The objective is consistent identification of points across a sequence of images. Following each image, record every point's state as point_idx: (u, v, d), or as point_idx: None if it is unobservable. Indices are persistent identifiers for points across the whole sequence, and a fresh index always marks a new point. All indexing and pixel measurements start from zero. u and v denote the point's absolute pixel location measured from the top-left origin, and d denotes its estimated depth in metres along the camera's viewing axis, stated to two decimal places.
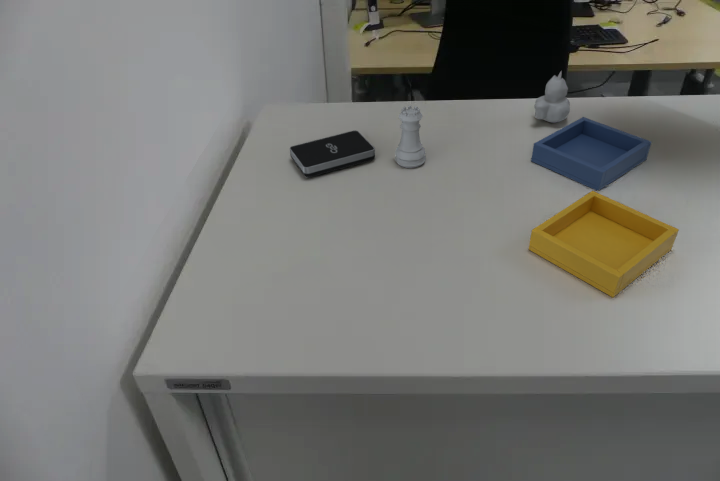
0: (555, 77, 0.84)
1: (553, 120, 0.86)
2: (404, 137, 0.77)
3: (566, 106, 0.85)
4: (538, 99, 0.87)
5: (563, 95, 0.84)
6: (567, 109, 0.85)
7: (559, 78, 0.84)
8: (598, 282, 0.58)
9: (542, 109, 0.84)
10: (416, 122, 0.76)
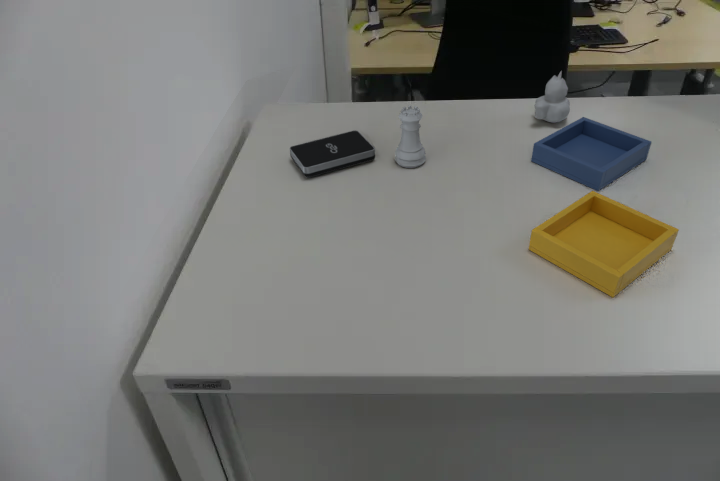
0: (555, 77, 0.84)
1: (553, 120, 0.86)
2: (404, 137, 0.77)
3: (566, 106, 0.85)
4: (538, 99, 0.87)
5: (563, 95, 0.84)
6: (567, 109, 0.85)
7: (559, 78, 0.84)
8: (598, 282, 0.58)
9: (542, 109, 0.84)
10: (416, 122, 0.76)
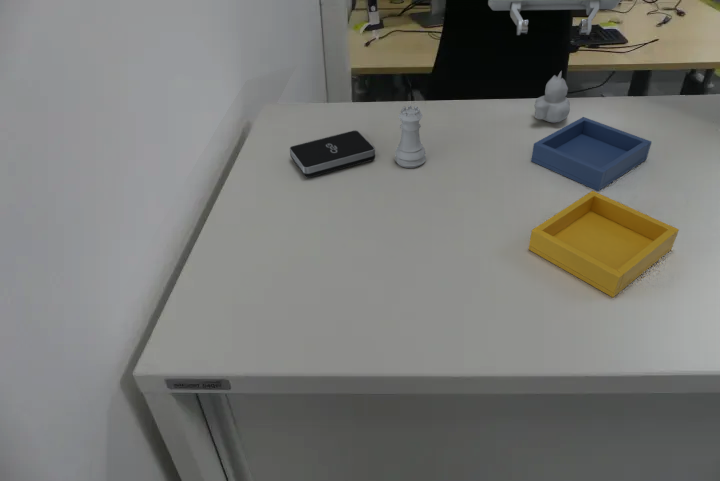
0: (555, 77, 0.84)
1: (553, 120, 0.86)
2: (404, 137, 0.77)
3: (566, 106, 0.85)
4: (538, 99, 0.87)
5: (563, 95, 0.84)
6: (567, 109, 0.85)
7: (559, 78, 0.84)
8: (598, 282, 0.58)
9: (542, 109, 0.84)
10: (416, 122, 0.76)
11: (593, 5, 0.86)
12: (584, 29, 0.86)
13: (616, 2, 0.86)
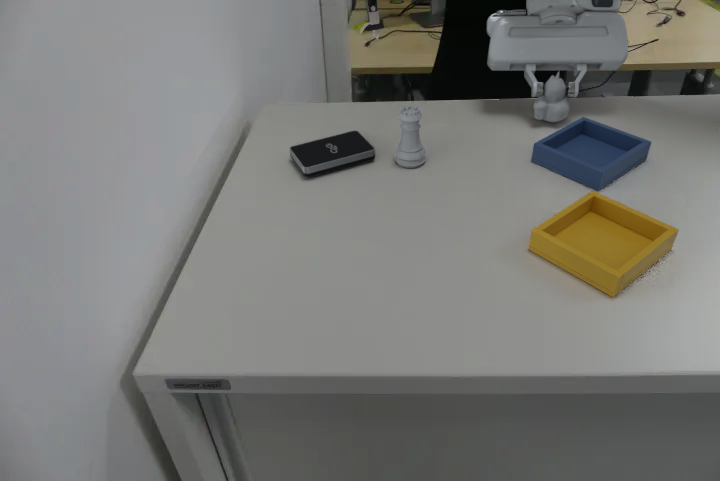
0: (553, 77, 0.84)
1: (552, 120, 0.86)
2: (404, 137, 0.77)
3: (565, 106, 0.84)
4: (537, 99, 0.87)
5: (562, 95, 0.84)
6: (566, 109, 0.85)
7: (557, 78, 0.84)
8: (598, 282, 0.58)
9: (541, 110, 0.84)
10: (416, 122, 0.76)
11: (580, 68, 0.84)
12: (571, 92, 0.84)
13: (619, 64, 0.83)
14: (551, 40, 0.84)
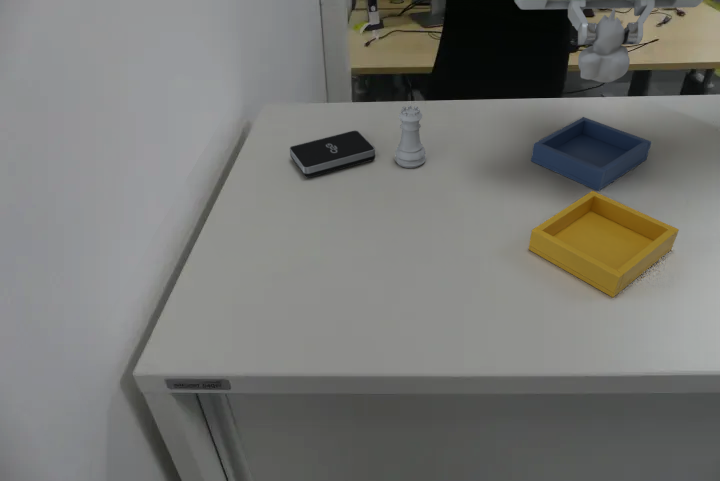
0: (606, 18, 0.60)
1: (607, 78, 0.61)
2: (404, 137, 0.77)
3: (625, 57, 0.60)
4: (583, 52, 0.63)
5: (620, 42, 0.60)
6: (627, 61, 0.60)
7: (612, 18, 0.59)
8: (598, 282, 0.58)
9: (592, 65, 0.60)
10: (416, 122, 0.76)
11: (646, 2, 0.59)
12: (632, 37, 0.59)
13: None
14: None
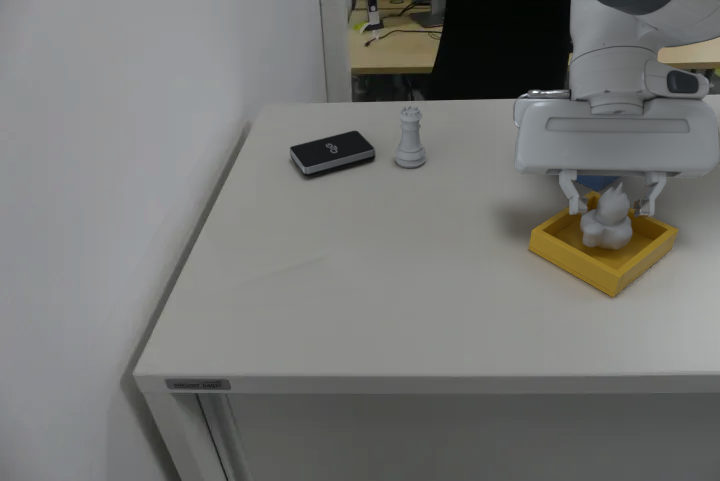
0: (612, 190, 0.59)
1: (609, 247, 0.61)
2: (404, 137, 0.77)
3: (628, 231, 0.59)
4: (586, 217, 0.62)
5: (624, 215, 0.59)
6: (630, 234, 0.60)
7: (619, 192, 0.59)
8: (598, 282, 0.58)
9: (596, 236, 0.59)
10: (416, 122, 0.76)
11: (657, 178, 0.58)
12: (644, 213, 0.58)
13: (705, 173, 0.58)
14: (606, 137, 0.59)
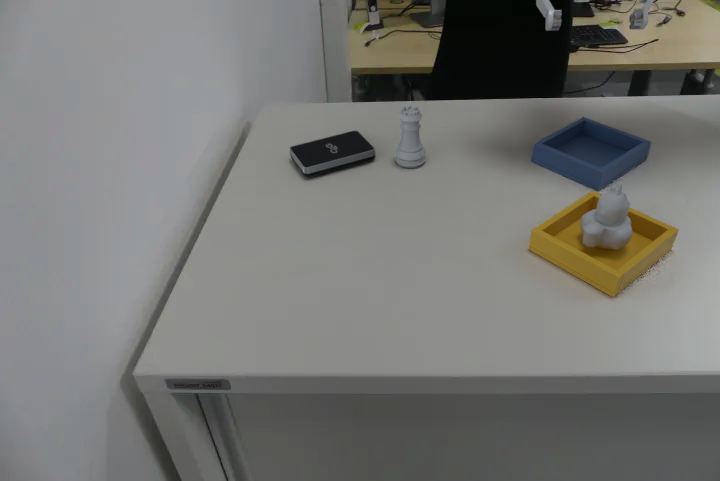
0: (612, 190, 0.59)
1: (609, 247, 0.61)
2: (404, 137, 0.77)
3: (628, 231, 0.59)
4: (586, 217, 0.62)
5: (624, 215, 0.59)
6: (630, 234, 0.60)
7: (619, 192, 0.59)
8: (598, 282, 0.58)
9: (596, 236, 0.59)
10: (416, 122, 0.76)
11: None
12: (638, 22, 0.63)
13: None
14: None
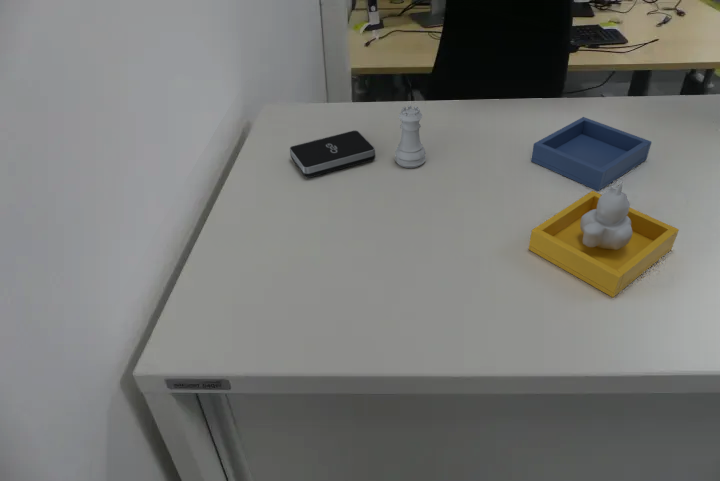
0: (612, 190, 0.59)
1: (609, 247, 0.61)
2: (404, 137, 0.77)
3: (628, 231, 0.59)
4: (586, 217, 0.62)
5: (624, 215, 0.59)
6: (630, 234, 0.60)
7: (619, 192, 0.59)
8: (598, 282, 0.58)
9: (596, 236, 0.59)
10: (416, 122, 0.76)
11: None
12: None
13: None
14: None
